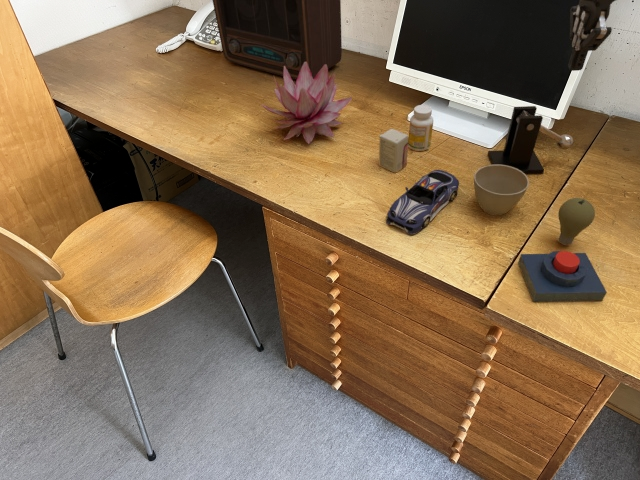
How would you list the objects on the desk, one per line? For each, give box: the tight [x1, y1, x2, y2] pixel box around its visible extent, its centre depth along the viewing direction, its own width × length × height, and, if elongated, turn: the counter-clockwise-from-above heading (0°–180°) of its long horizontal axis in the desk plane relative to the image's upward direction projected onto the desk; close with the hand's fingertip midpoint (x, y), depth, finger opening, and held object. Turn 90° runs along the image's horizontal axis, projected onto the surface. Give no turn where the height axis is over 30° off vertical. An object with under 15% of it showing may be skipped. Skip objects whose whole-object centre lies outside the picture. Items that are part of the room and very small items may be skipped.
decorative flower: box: [260, 62, 353, 145], centre depth 117 cm, size 21×21×15 cm
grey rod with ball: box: [516, 110, 574, 150], centre depth 101 cm, size 14×3×3 cm, turn 89°
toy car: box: [385, 169, 460, 235], centre depth 96 cm, size 8×18×5 cm, turn 139°
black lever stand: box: [487, 105, 545, 175], centre depth 102 cm, size 10×8×13 cm
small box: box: [378, 128, 409, 174], centre depth 106 cm, size 5×4×8 cm
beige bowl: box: [473, 164, 530, 216], centre depth 93 cm, size 10×10×7 cm
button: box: [553, 250, 580, 274], centre depth 78 cm, size 4×4×2 cm
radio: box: [212, 0, 343, 80], centre depth 143 cm, size 36×18×30 cm, turn 54°
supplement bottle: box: [408, 104, 434, 152], centre depth 111 cm, size 5×5×10 cm
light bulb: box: [557, 197, 596, 246], centre depth 84 cm, size 6×6×10 cm
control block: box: [517, 250, 608, 303], centre depth 80 cm, size 11×9×4 cm
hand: (574, 68), depth 89 cm, fingers closed
